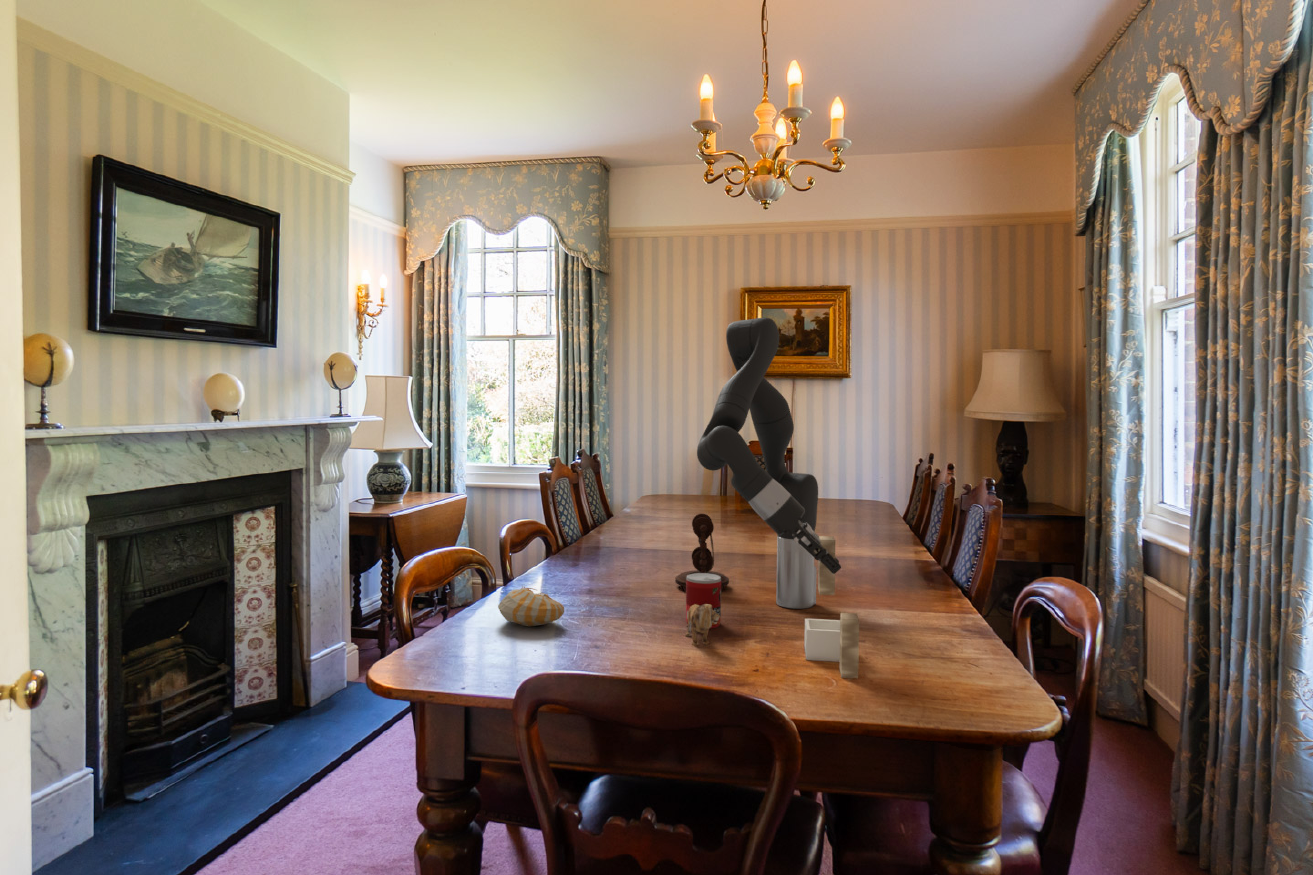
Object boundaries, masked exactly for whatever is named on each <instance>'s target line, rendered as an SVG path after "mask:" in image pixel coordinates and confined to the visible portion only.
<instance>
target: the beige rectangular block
mask: <svg viewBox="0 0 1313 875" xmlns="http://www.w3.org/2000/svg"><path fill="white" fill-rule="evenodd" d="M839 620H840V662H838V663H839V668H838V669H839V674H841V675H840V678H841V679H853V678H857V680H858V679H859V654H860V653H859V651H860V650H859V649H860V648H859V647H860V644H859V642H860V617H859V616H858V614H857V613H854V612H852V613H850V612H849V613H848V612H840V619H839Z"/></svg>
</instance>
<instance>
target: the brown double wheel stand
mask: <svg viewBox="0 0 1313 875" xmlns="http://www.w3.org/2000/svg"><path fill="white" fill-rule="evenodd" d="M712 520H713V519H712V518H711V516H709V514H706V513H698V514H696V515H695V516H693V519H692V520H691V527H692V531H693V533H694V535H695V536H697V538H698V544H699V546H697V547H695V548H694V549H693V550H692V553H691V560H692V565H693V568H694V569H695V570H688V571H684V572H681V573H680V574H678V575H676V576H675V581H674V583H675V584H676V585H678V586H680V587H683V591H684V592H686V578H687V576H688V575H690V574H695V573H709V574H715V575H718V576H720V577H721V592H722V591H723V587H726V586H728V585H729V583H730V578H729V577H728V576H726V575H725V574H724V573H722V572H718V571H715V570H713V568H714V564H715V552H714V550H715V549H714V542H713V532H714V528H715V526H714V523H713V521H712ZM709 538H710V540H709V541H710V547H711V550H710V549H709V548H708V543H707V542H706V541H707V540H708V539H709Z"/></svg>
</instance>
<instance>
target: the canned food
mask: <svg viewBox="0 0 1313 875" xmlns="http://www.w3.org/2000/svg"><path fill="white" fill-rule="evenodd" d="M694 604H696V605H699V606H700V605H704V604H710V605H712V609H713V610H714V611H715V612H716V613H717V614H718V615H720V617H719V619H718V620H717V624H714V623H712V626H711V627H710V628H709V630H711V629H715V628H718V627H719V626H720V625H721V624H720V623H721V620H722V617H721V616H722V613H721V612H722V610H721V608H722V607H721V606H722V591H721V577H720V576H718V575H715V574H709V573H695V574H690V575H688V576H687V578H686V591H685V621H686V624H687V625H688V611H689V609H690V607H691V606H692V605H694ZM691 628H692V626H691Z"/></svg>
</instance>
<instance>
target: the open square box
mask: <svg viewBox="0 0 1313 875" xmlns="http://www.w3.org/2000/svg"><path fill="white" fill-rule="evenodd" d="M803 639H804V640H803V641H804V643H803V644H804V646H803V647H804V655H805V660H806V661H821V662H836V663H839V662H840V619H822V618H821V619H820V618H804V638H803Z"/></svg>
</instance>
